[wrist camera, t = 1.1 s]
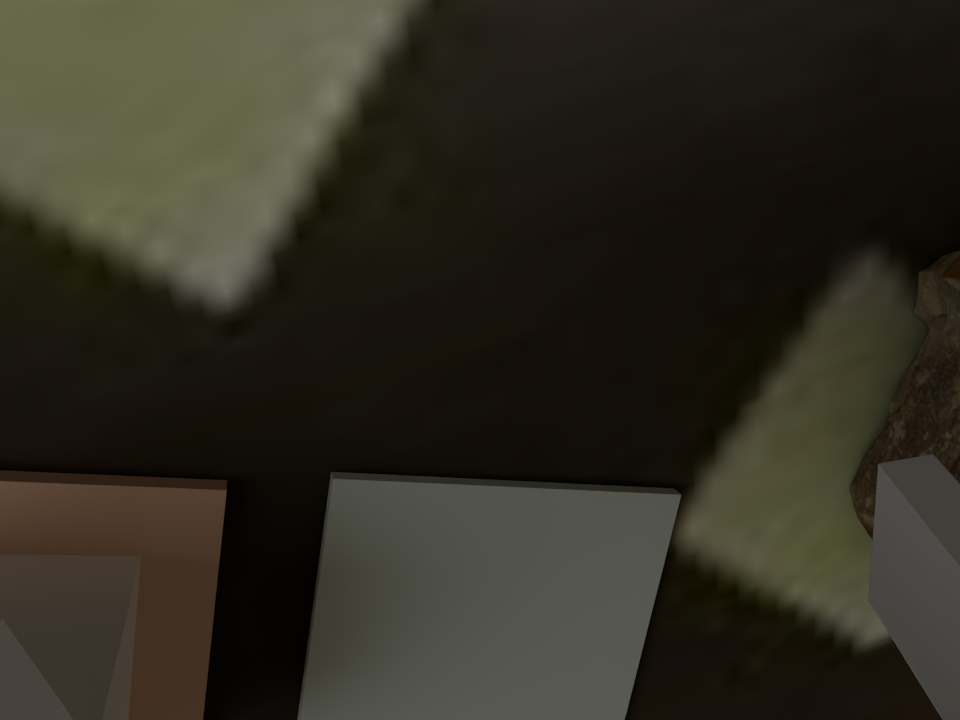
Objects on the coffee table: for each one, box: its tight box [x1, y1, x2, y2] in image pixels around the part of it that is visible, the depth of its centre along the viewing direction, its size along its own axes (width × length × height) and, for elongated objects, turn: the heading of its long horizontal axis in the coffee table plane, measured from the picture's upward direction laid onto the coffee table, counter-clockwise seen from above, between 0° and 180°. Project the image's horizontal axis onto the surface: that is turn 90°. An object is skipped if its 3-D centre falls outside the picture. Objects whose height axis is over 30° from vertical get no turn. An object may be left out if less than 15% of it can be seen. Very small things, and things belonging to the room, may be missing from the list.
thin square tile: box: [0, 470, 227, 720], centre depth 26 cm, size 13×13×1 cm
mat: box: [297, 472, 681, 720], centre depth 32 cm, size 14×14×1 cm
